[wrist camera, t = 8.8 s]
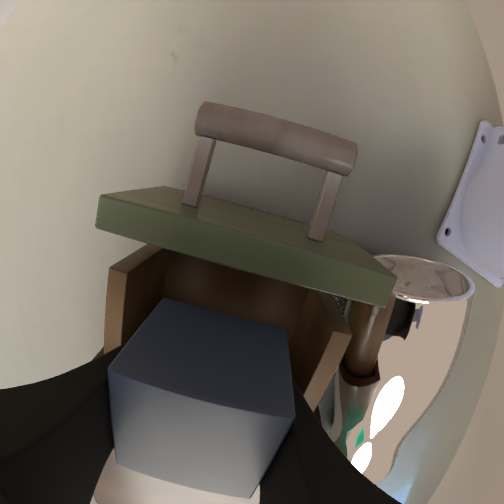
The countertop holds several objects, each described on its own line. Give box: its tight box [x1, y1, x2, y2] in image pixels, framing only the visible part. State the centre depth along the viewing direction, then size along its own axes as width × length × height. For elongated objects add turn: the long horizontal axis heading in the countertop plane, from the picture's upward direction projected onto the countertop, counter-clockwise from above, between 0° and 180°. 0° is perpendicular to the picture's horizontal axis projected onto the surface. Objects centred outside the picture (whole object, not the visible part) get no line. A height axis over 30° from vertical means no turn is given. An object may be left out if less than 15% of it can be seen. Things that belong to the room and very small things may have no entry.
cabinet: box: [93, 347, 322, 504], centre depth 16 cm, size 14×12×9 cm
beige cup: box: [328, 254, 475, 484], centre depth 15 cm, size 7×7×15 cm
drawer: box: [95, 102, 397, 412], centre depth 13 cm, size 17×10×7 cm, turn 165°
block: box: [108, 298, 296, 499], centre depth 9 cm, size 4×4×4 cm
